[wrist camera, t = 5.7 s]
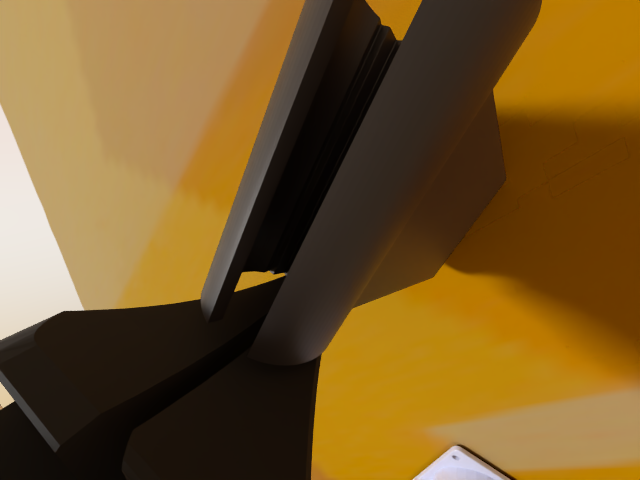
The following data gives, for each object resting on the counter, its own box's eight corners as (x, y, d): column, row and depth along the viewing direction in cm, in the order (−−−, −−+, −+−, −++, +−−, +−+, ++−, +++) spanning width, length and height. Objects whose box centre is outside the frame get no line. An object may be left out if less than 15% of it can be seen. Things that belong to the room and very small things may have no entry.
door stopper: (504, 180, 12) (1347, 40, 1) (432, 275, 14) (478, 558, 3) (350, 108, 14) (119, -184, 3) (307, 199, 16) (74, 209, 5)
